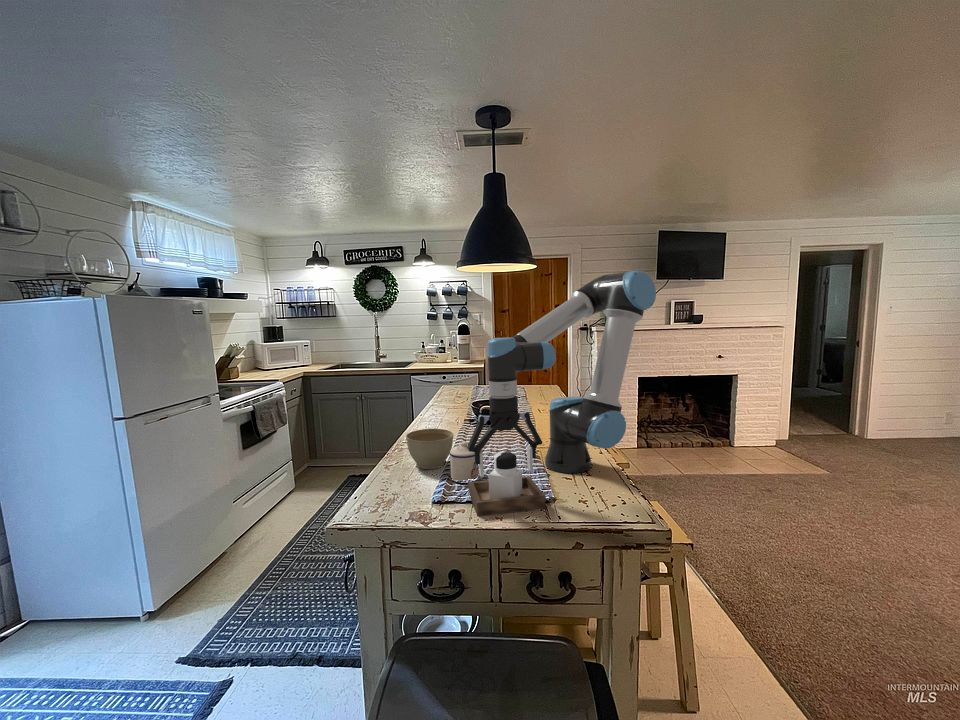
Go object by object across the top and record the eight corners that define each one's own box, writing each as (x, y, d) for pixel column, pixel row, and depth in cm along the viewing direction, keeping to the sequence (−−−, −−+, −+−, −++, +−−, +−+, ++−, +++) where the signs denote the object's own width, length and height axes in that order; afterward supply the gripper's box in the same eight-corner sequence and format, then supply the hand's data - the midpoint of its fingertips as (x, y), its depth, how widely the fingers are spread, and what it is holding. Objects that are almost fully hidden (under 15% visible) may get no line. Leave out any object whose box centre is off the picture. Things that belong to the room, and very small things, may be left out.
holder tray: (529, 487, 123) (529, 476, 123) (545, 508, 109) (545, 495, 109) (468, 493, 120) (468, 482, 120) (477, 516, 106) (477, 502, 106)
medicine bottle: (522, 493, 116) (521, 451, 115) (513, 504, 110) (512, 459, 109) (498, 489, 119) (497, 448, 118) (488, 499, 113) (487, 456, 112)
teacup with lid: (477, 485, 126) (476, 447, 125) (447, 484, 128) (446, 446, 126) (482, 470, 138) (481, 436, 137) (455, 470, 139) (454, 435, 138)
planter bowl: (438, 476, 134) (437, 443, 133) (397, 469, 141) (396, 438, 140) (462, 460, 149) (461, 430, 147) (424, 455, 156) (423, 426, 154)
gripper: (458, 402, 106) (462, 483, 108) (552, 394, 110) (554, 472, 113) (455, 396, 113) (458, 472, 116) (543, 390, 118) (545, 463, 120)
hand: (506, 472), depth 114 cm, fingers open, 13 cm apart
